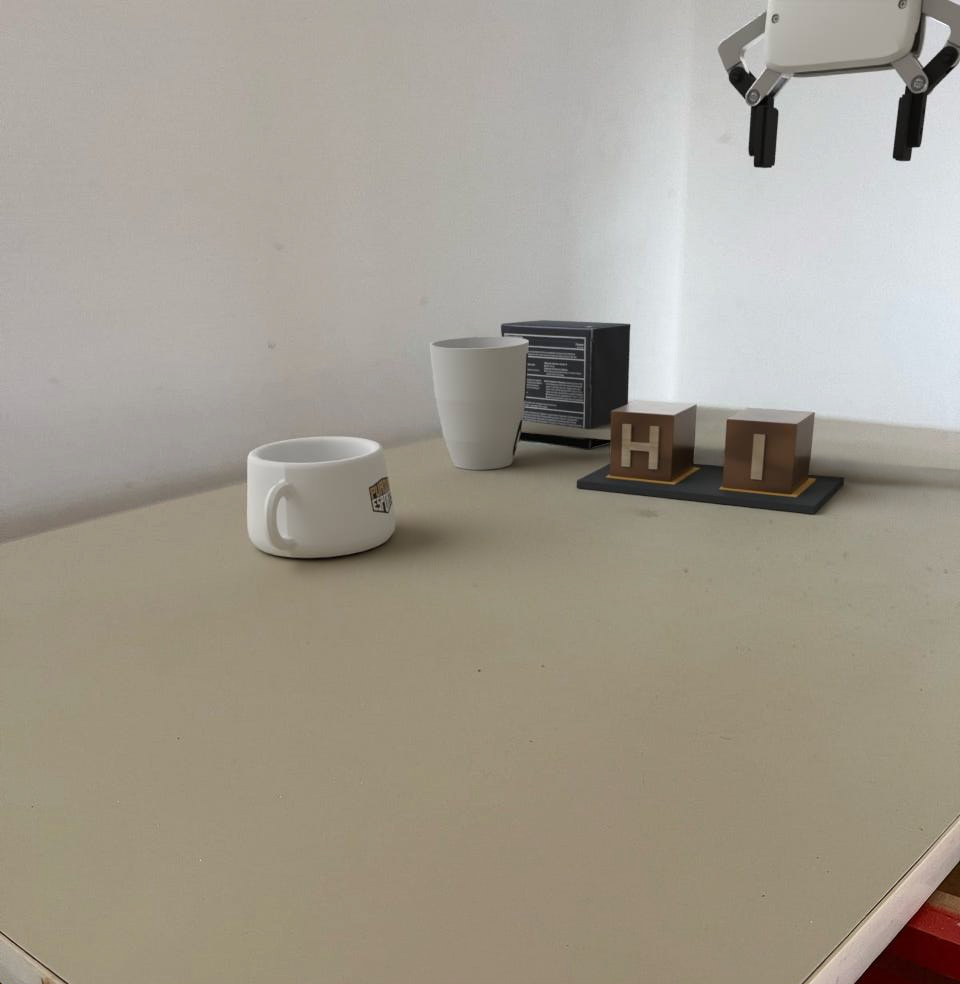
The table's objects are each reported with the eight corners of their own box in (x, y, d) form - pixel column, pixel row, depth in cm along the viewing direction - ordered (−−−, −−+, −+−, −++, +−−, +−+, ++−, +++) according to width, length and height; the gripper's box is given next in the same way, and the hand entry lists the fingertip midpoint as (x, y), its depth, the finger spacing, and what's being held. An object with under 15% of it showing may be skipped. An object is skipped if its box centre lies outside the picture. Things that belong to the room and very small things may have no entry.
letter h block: (693, 468, 81) (696, 404, 79) (669, 482, 77) (672, 415, 75) (634, 462, 83) (636, 400, 81) (608, 476, 79) (609, 411, 77)
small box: (632, 439, 95) (635, 321, 91) (590, 451, 91) (592, 328, 87) (542, 427, 102) (542, 316, 98) (499, 438, 97) (497, 323, 93)
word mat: (843, 485, 78) (844, 475, 77) (814, 514, 70) (815, 504, 70) (622, 463, 86) (622, 455, 86) (576, 488, 79) (576, 479, 79)
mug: (291, 515, 74) (283, 432, 71) (417, 523, 71) (413, 436, 69) (201, 568, 63) (188, 471, 61) (345, 579, 60) (337, 479, 58)
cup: (545, 467, 86) (544, 343, 82) (454, 478, 83) (449, 350, 79) (507, 449, 93) (505, 334, 89) (422, 459, 90) (416, 340, 86)
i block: (808, 479, 77) (815, 411, 75) (790, 495, 73) (796, 424, 71) (742, 473, 79) (747, 407, 77) (721, 488, 75) (725, 419, 73)
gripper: (1009, -134, 66) (968, 159, 73) (744, -89, 74) (729, 170, 81) (997, -167, 60) (953, 156, 67) (710, -114, 68) (697, 168, 75)
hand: (830, 164), depth 74 cm, fingers open, 9 cm apart
